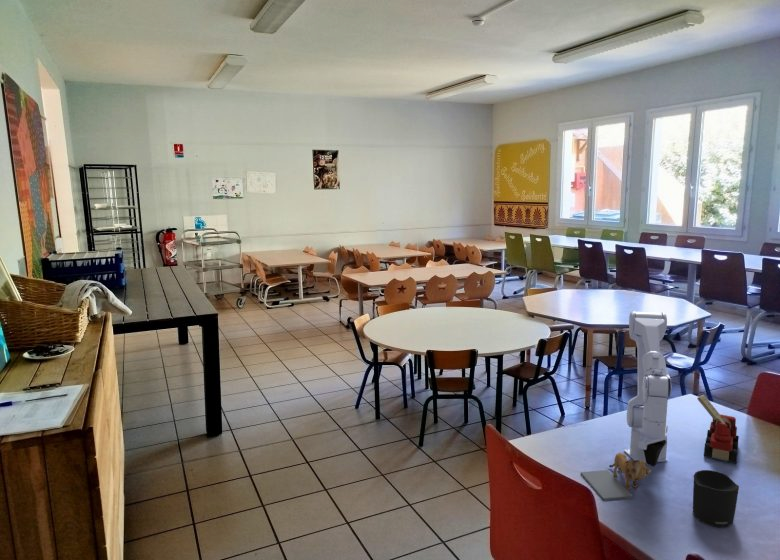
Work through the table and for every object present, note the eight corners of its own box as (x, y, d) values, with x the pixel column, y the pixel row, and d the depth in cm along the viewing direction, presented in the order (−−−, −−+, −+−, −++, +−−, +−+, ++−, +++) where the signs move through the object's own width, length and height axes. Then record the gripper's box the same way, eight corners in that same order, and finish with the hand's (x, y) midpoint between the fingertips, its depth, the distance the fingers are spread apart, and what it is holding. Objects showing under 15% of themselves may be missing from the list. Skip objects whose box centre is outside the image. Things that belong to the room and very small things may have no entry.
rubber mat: (607, 471, 154) (607, 469, 154) (632, 497, 141) (632, 495, 141) (580, 474, 153) (580, 472, 153) (603, 500, 140) (603, 498, 140)
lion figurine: (652, 494, 143) (654, 463, 141) (635, 497, 142) (637, 466, 140) (616, 466, 157) (618, 437, 155) (600, 469, 156) (602, 440, 154)
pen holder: (686, 518, 132) (689, 481, 131) (696, 501, 139) (699, 466, 137) (730, 534, 126) (734, 495, 124) (738, 515, 133) (742, 478, 131)
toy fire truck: (738, 445, 168) (743, 391, 165) (736, 467, 155) (741, 409, 152) (696, 436, 174) (701, 384, 171) (691, 456, 162) (696, 401, 158)
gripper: (650, 405, 153) (647, 450, 155) (627, 421, 143) (624, 468, 146) (676, 413, 148) (673, 458, 150) (654, 430, 138) (651, 478, 141)
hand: (651, 464), depth 148 cm, fingers closed
